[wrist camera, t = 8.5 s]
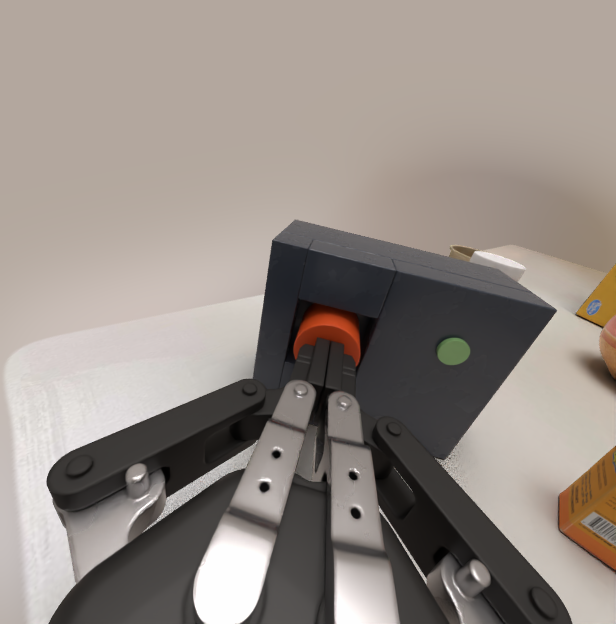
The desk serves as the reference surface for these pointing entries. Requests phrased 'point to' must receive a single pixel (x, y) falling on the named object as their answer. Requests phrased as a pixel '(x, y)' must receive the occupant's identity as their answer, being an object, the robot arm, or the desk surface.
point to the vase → (609, 345)
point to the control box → (401, 326)
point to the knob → (329, 329)
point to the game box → (601, 301)
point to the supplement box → (592, 510)
